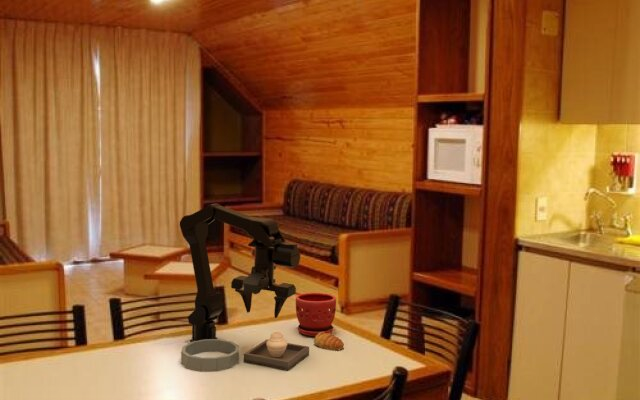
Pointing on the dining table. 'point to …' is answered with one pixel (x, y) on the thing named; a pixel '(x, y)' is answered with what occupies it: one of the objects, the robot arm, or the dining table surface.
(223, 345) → the grey polygonal ring
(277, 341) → the muffin
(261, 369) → the dining table surface
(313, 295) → the plant pot
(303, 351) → the tray
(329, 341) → the pastry
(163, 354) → the dining table surface
